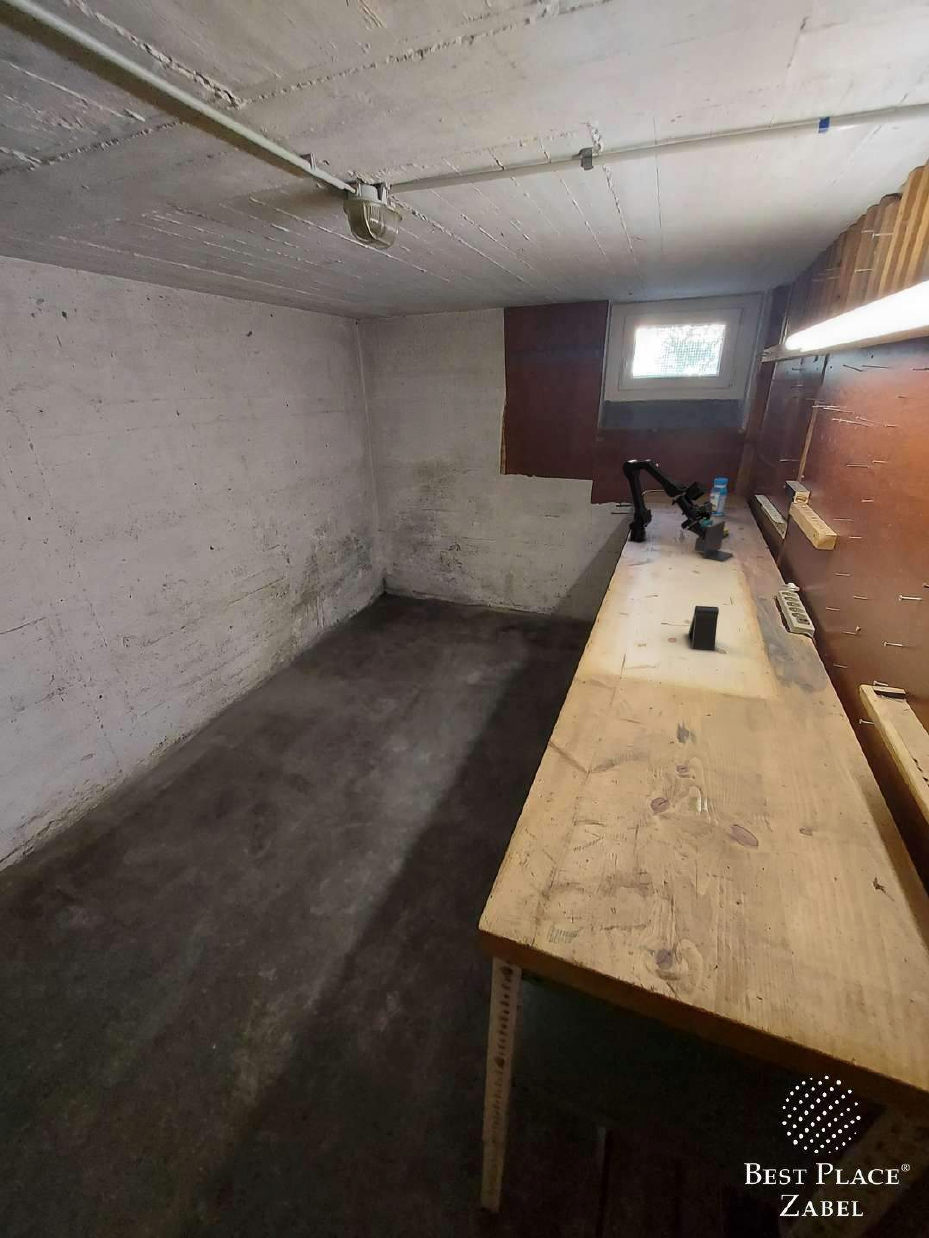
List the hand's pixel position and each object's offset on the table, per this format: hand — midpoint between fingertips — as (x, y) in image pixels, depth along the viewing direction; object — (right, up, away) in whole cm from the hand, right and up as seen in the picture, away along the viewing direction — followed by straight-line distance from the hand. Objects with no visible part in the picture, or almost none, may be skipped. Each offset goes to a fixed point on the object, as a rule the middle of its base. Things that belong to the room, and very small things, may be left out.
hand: (707, 535), depth 216 cm
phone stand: (-37, -45, -68) cm, 89 cm away
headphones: (-1, -6, +4) cm, 7 cm away
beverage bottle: (+37, +23, +65) cm, 78 cm away
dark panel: (+2, -9, +2) cm, 9 cm away
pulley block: (+15, +3, +26) cm, 30 cm away
